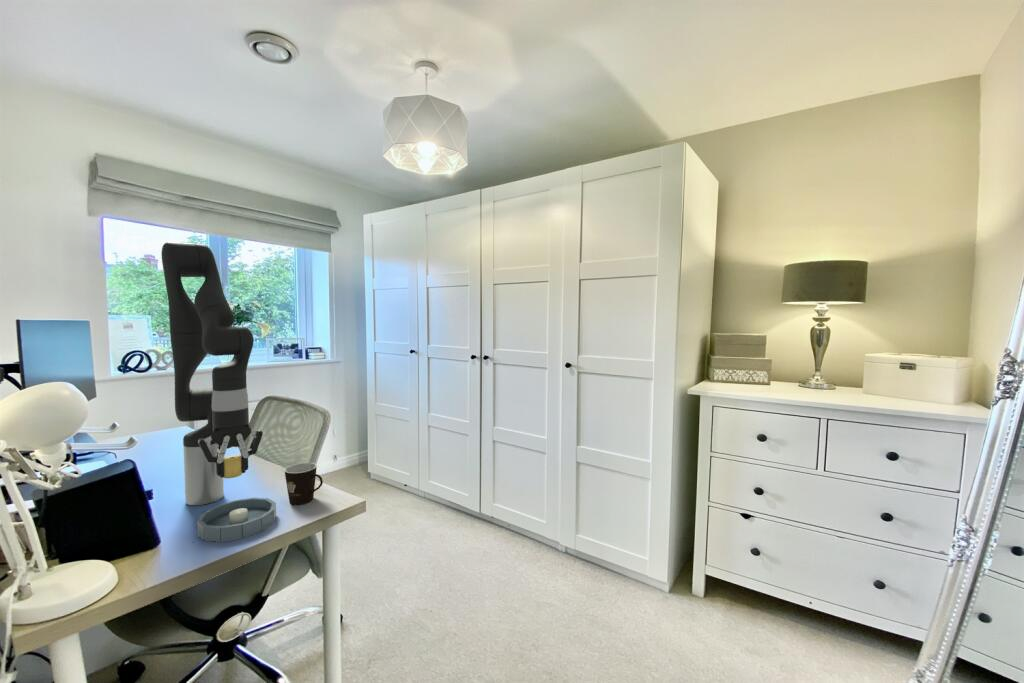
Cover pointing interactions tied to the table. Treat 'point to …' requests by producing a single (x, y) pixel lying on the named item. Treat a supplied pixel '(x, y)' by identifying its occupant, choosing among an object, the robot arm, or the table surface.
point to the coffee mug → (301, 482)
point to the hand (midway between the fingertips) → (232, 474)
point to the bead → (232, 466)
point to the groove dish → (237, 531)
